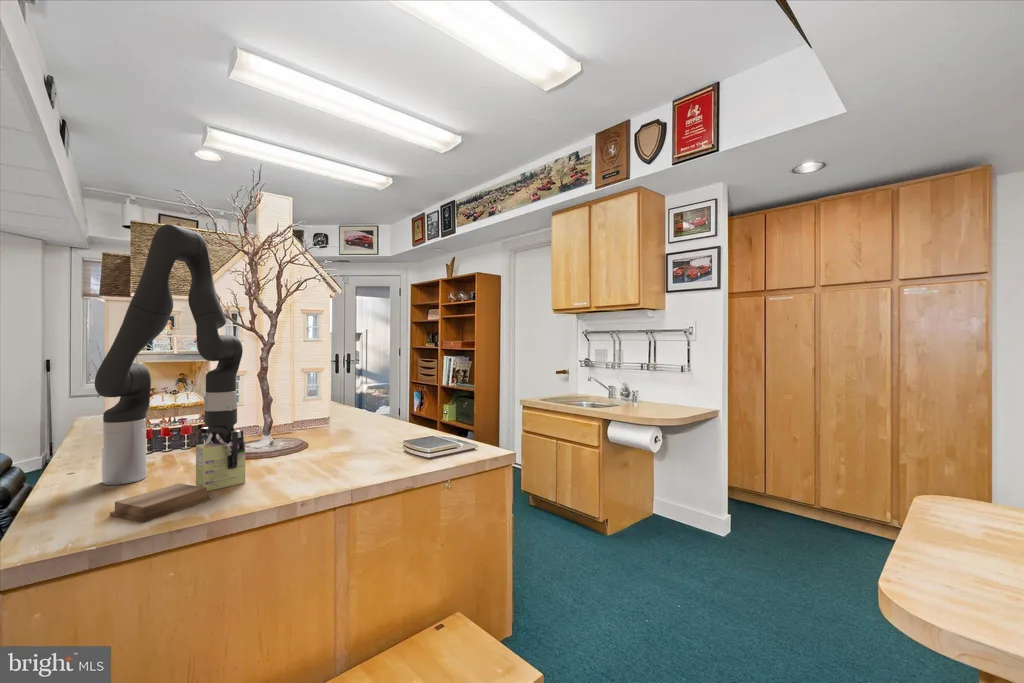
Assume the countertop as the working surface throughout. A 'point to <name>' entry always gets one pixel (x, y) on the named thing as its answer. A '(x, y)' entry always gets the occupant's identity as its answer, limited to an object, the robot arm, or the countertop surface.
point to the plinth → (159, 502)
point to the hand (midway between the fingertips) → (221, 466)
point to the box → (217, 467)
